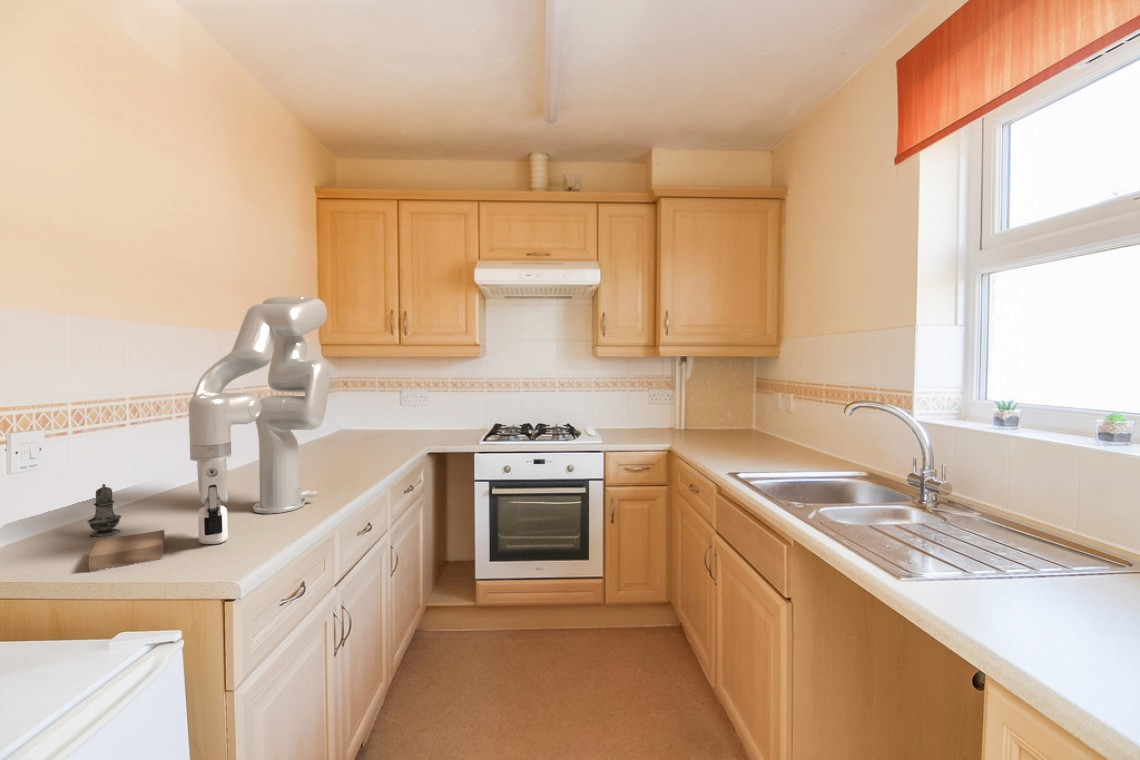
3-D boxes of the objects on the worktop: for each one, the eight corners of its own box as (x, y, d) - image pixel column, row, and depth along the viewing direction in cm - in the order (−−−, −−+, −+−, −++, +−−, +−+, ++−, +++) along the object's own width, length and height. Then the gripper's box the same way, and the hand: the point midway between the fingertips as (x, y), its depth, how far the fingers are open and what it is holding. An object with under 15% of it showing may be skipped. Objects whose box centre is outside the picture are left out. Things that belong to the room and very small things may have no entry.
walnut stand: (164, 542, 111) (164, 529, 111) (162, 558, 102) (161, 544, 102) (97, 553, 104) (97, 540, 104) (89, 572, 96) (88, 557, 96)
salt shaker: (128, 529, 119) (127, 481, 119) (103, 538, 113) (101, 487, 113) (106, 528, 120) (105, 480, 119) (80, 537, 114) (78, 486, 113)
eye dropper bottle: (208, 547, 108) (206, 494, 108) (196, 541, 111) (195, 489, 111) (230, 541, 112) (228, 489, 111) (218, 535, 115) (217, 485, 114)
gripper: (233, 455, 106) (235, 538, 107) (229, 443, 120) (230, 516, 121) (189, 460, 102) (192, 546, 103) (190, 446, 115) (192, 522, 116)
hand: (213, 529), depth 112 cm, fingers closed on eye dropper bottle, 4 cm apart
